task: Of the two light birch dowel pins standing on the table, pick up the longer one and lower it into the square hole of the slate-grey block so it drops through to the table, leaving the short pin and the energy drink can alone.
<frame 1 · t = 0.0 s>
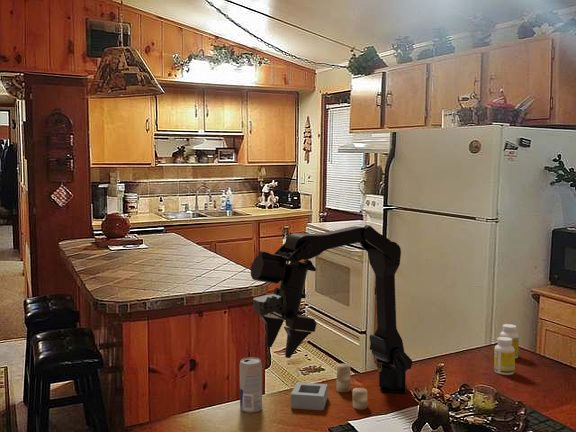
hand: (277, 352, 132), 15 cm above the table, tool pointing down, fingers open, 9 cm apart
hole block: (309, 402, 141), on the table
energy drink: (251, 409, 138), on the table
long pin: (343, 389, 150), on the table
supplement bottle 2: (508, 357, 176), on the table
short pin: (359, 406, 139), on the table
supplement bottle: (504, 372, 162), on the table
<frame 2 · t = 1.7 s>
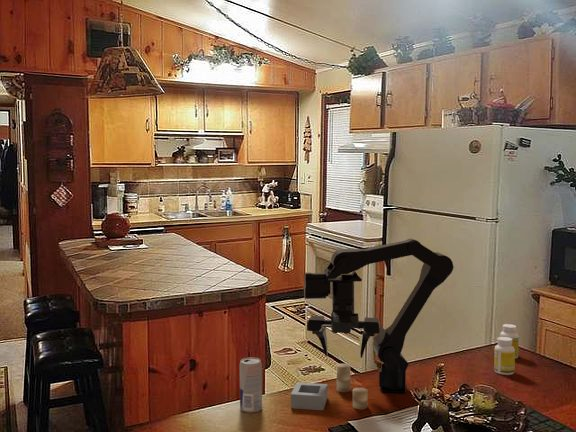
hand: (343, 356, 149), 9 cm above the table, tool pointing down, fingers open, 9 cm apart
nothing on the table moved.
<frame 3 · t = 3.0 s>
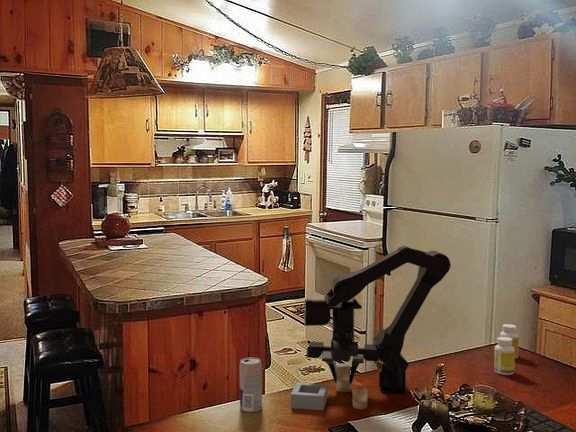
hand: (343, 383, 150), 2 cm above the table, tool pointing down, fingers closed on long pin, 4 cm apart
long pin: (343, 389, 150), on the table, touching gripper
everything else where it was.
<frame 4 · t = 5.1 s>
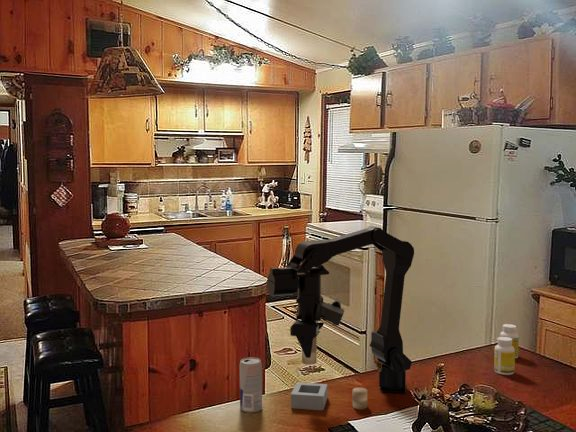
hand: (309, 355, 141), 12 cm above the table, tool pointing down, fingers closed on long pin, 4 cm apart
long pin: (309, 362, 141), point 10 cm above the table, touching gripper
everything else where it was.
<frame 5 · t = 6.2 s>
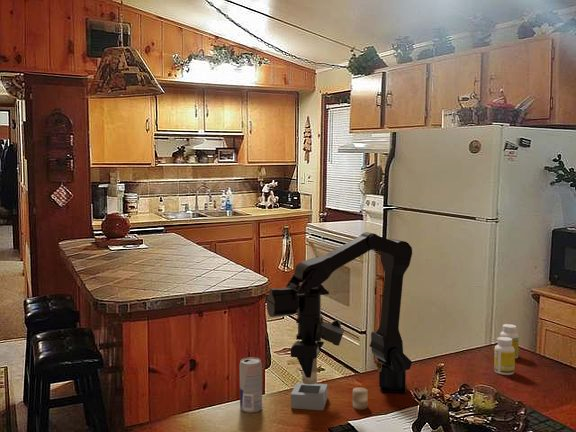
hand: (309, 374, 141), 7 cm above the table, tool pointing down, fingers closed on long pin, 4 cm apart
long pin: (309, 381, 141), point 5 cm above the table, touching gripper
everything else where it was.
when the fingers open (4 cm above the table, at t = 7.2 s): long pin drops 2 cm, resting in hole block.
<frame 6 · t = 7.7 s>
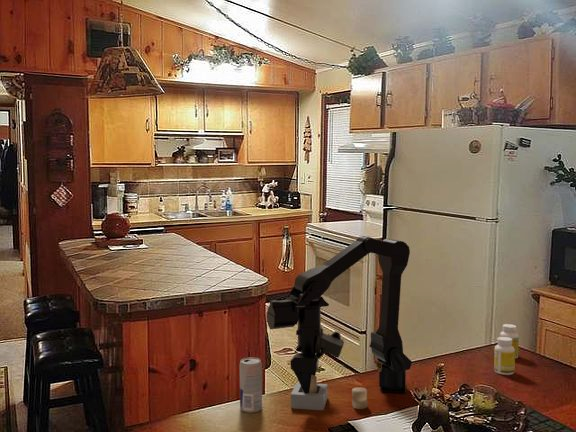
hand: (309, 386, 141), 4 cm above the table, tool pointing down, fingers open, 9 cm apart
long pin: (309, 402, 142), resting in hole block
everything else where it was.
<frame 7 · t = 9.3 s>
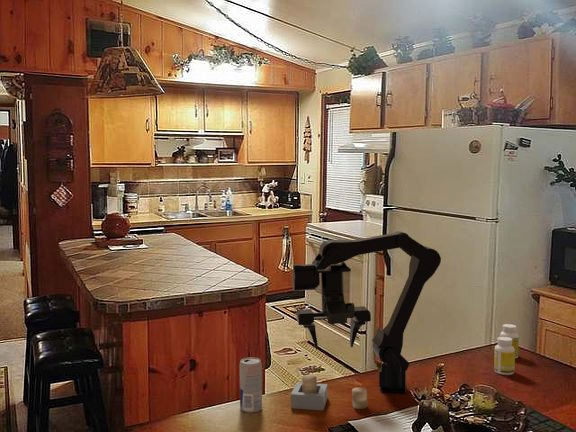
hand: (334, 347, 148), 12 cm above the table, tool pointing down, fingers open, 9 cm apart
nothing on the table moved.
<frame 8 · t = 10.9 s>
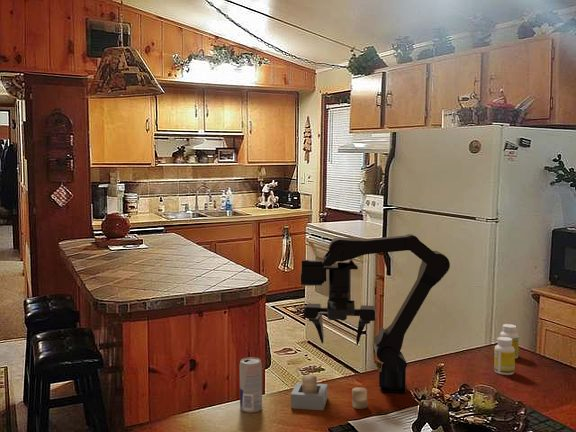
hand: (339, 343, 150), 12 cm above the table, tool pointing down, fingers open, 9 cm apart
nothing on the table moved.
at the end: long pin 0.0 cm off-centre on the hole block, point 0.0 cm above the hole block's base; long pin tilted 0°; short pin moved 0.0 cm from its start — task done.
